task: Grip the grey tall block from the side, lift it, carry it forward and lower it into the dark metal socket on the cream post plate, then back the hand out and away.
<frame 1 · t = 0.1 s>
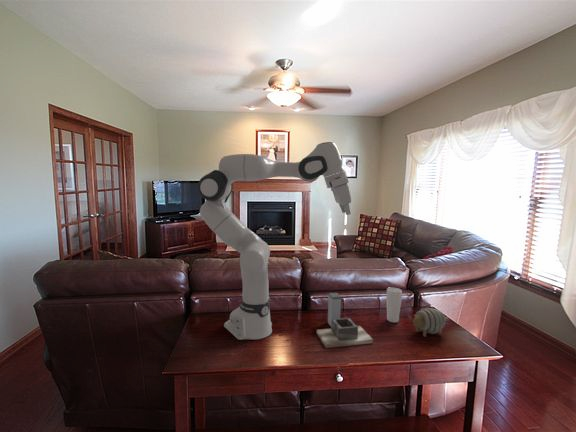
hand: (346, 213, 120), 52 cm above the table, tool tilted 20°, fingers open, 8 cm apart
drinking glass: (392, 320, 139), on the table
grey tall block: (333, 324, 134), on the table
post socket: (343, 337, 123), on the table
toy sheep: (430, 334, 127), on the table
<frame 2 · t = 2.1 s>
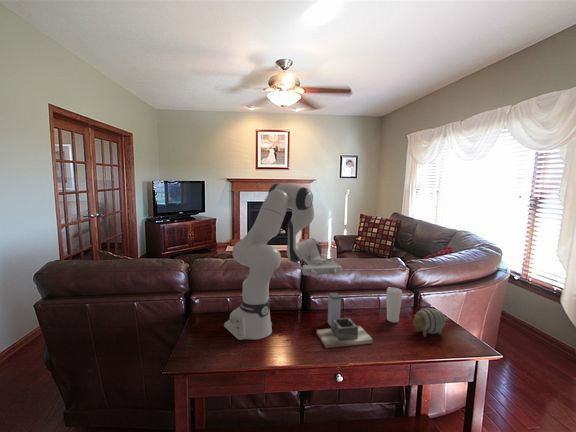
hand: (326, 274, 144), 20 cm above the table, tool horizontal, fingers open, 8 cm apart
nothing on the table moved.
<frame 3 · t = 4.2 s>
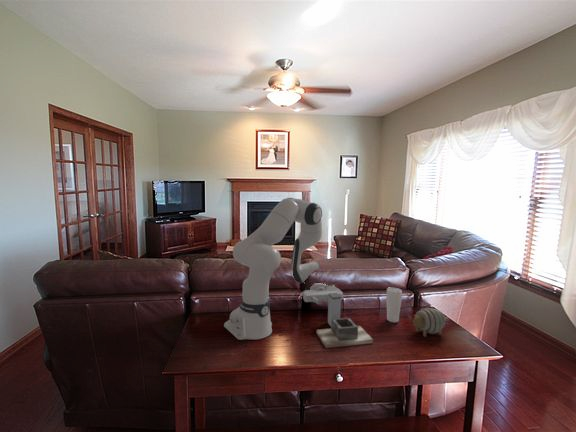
hand: (327, 301, 142), 8 cm above the table, tool horizontal, fingers open, 8 cm apart
nothing on the table moved.
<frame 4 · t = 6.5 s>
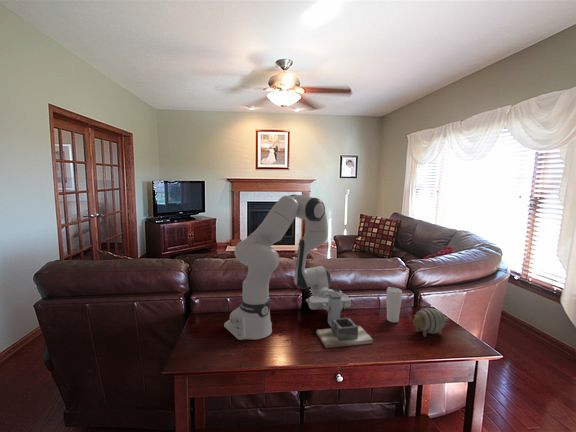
hand: (334, 309, 133), 8 cm above the table, tool horizontal, fingers closed on grey tall block, 4 cm apart
grey tall block: (333, 324, 134), on the table, touching gripper
everything else where it was.
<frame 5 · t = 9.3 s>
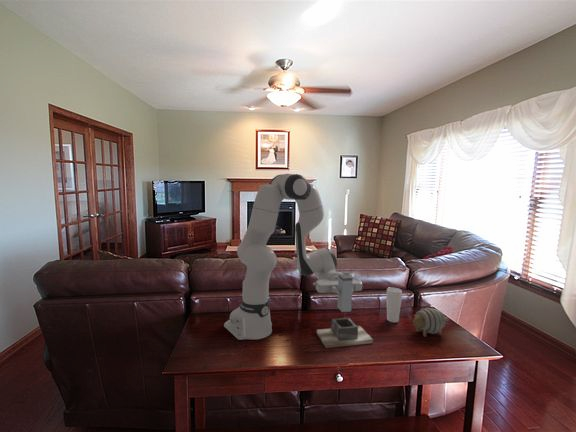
hand: (345, 291, 120), 20 cm above the table, tool horizontal, fingers closed on grey tall block, 4 cm apart
grey tall block: (344, 309, 122), point 12 cm above the table, touching gripper
everything else where it was.
when the fingers open (11 cm above the table, at t = 12.0 s): grey tall block drops 1 cm, resting on post socket.
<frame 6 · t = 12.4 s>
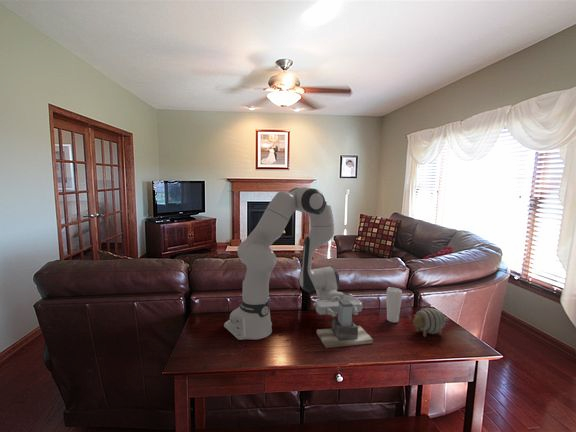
hand: (345, 314, 121), 11 cm above the table, tool horizontal, fingers open, 8 cm apart
grey tall block: (343, 334, 122), point 2 cm above the table, touching post socket
everything else where it was.
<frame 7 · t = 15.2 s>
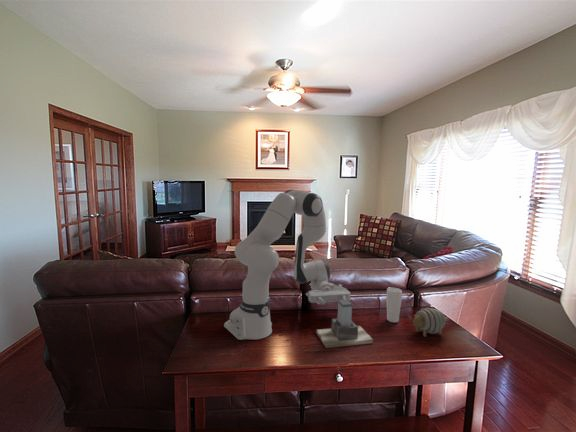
hand: (334, 302, 133), 11 cm above the table, tool horizontal, fingers open, 8 cm apart
nothing on the table moved.
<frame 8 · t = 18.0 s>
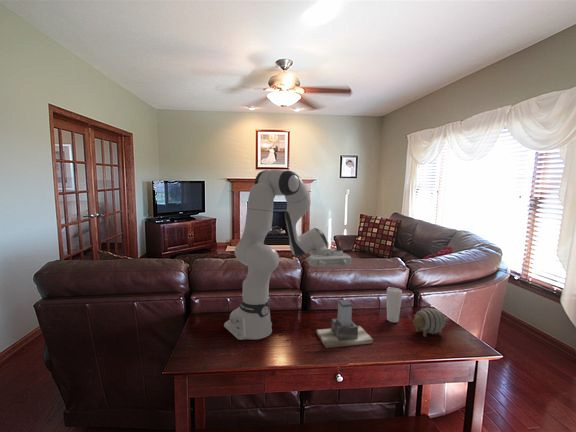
hand: (335, 264, 131), 28 cm above the table, tool horizontal, fingers open, 8 cm apart
nothing on the table moved.
at the end: grey tall block 0.1 cm off-centre on the post socket, point 1.5 cm above the post socket's base; grey tall block tilted 0°; the gripper is holding nothing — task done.
